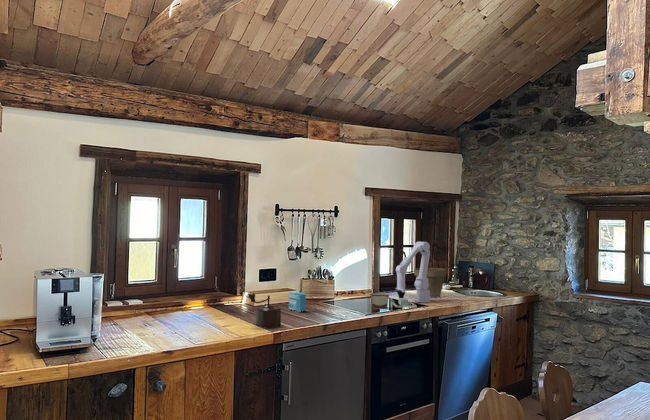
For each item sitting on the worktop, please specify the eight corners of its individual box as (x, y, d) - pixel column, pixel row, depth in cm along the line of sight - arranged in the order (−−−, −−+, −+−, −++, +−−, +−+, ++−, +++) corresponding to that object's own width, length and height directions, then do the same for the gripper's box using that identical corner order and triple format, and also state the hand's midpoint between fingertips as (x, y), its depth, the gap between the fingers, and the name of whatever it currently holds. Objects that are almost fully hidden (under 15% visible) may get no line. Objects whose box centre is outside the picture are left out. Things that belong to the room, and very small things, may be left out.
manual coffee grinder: (271, 322, 270) (271, 290, 271) (281, 325, 261) (281, 293, 262) (246, 325, 261) (247, 292, 261) (256, 329, 252) (256, 295, 253)
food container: (388, 307, 321) (389, 292, 321) (389, 309, 315) (389, 294, 315) (370, 307, 322) (370, 292, 323) (370, 308, 316) (370, 293, 316)
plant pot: (413, 298, 364) (413, 269, 365) (414, 293, 388) (414, 267, 389) (446, 299, 358) (446, 270, 359) (445, 294, 383) (445, 268, 383)
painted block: (405, 303, 338) (405, 298, 338) (407, 305, 331) (407, 299, 331) (398, 303, 337) (398, 298, 337) (400, 305, 330) (400, 299, 330)
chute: (407, 301, 350) (407, 299, 350) (416, 307, 323) (416, 305, 323) (388, 301, 348) (388, 299, 348) (396, 307, 322) (396, 305, 322)
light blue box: (288, 310, 308) (288, 291, 309) (293, 309, 311) (294, 291, 312) (300, 312, 300) (300, 293, 300) (305, 312, 303) (305, 293, 303)
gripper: (393, 280, 346) (393, 299, 346) (397, 283, 332) (397, 302, 331) (402, 280, 347) (402, 299, 346) (407, 283, 332) (407, 302, 332)
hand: (401, 301), depth 339 cm, fingers closed
